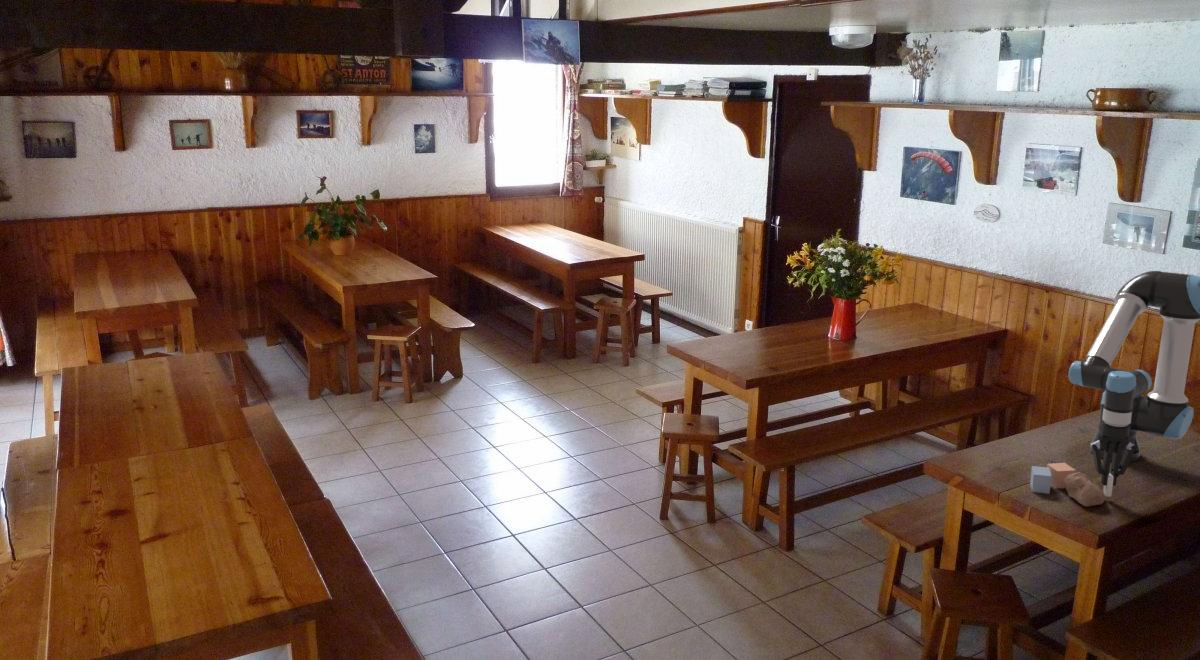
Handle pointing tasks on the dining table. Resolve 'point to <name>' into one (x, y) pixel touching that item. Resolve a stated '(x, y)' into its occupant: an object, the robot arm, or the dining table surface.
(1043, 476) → the slate block
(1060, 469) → the terracotta block
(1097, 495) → the stone
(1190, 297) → the robot arm
